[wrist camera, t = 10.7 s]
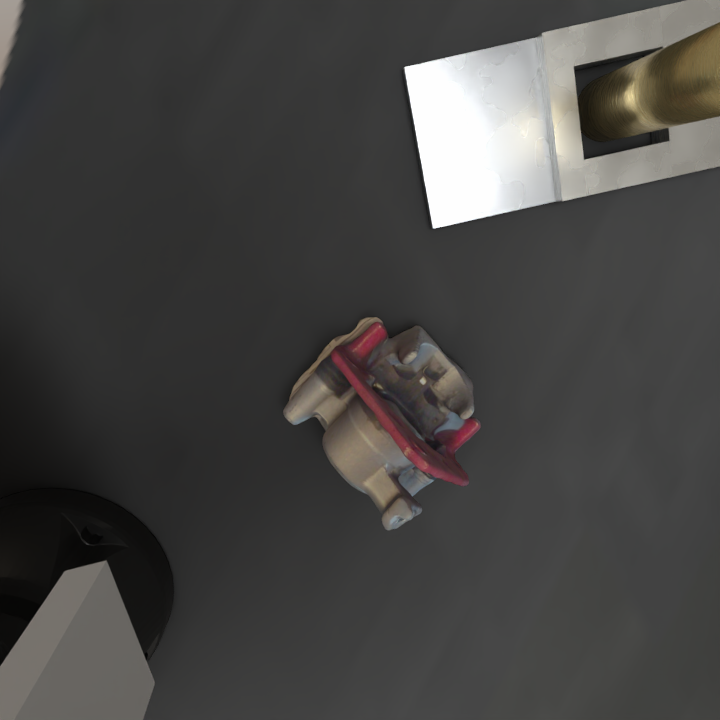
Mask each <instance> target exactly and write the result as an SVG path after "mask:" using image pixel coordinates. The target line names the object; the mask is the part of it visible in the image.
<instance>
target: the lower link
mask: <svg viewBox="0 0 720 720" xmlns="http://www.w3.org/2000/svg"><path fill="white" fill-rule="evenodd" d="M652 53H653V51H650V52H646V53H641V54H637V55H632V56H628V57H623V58H619V59H614V60H610V61H606V62H601V63H597V64H592V65H588V66H583V67H579V68H574V71H575V70H580V69H584V68H589V67H593V66H597V65H602V64H606V63H611V62H615V61H620V60H624V59H629V58H633V57H638V56H642V55H644V57H645V56H647V55H650V54H652ZM402 73H403V78H404V84H405V89H406V95H407V101H408V106H409V112H410V117H411V123H412V128H413V134H414V139H415V145H416V151H417V156H418V162H419V167H420V173H421V178H422V184H423V189H424V195H425V201H426V206H427V212H428V217H429V223H430V228H433V229H434V228H438V227H443V226H447V225H452V224H456V223H461V222H465V221H470V220H474V219H479V218H483V217H488V216H492V215H497V214H501V213H506V212H510V211H515V210H519V209H524V208H528V207H533V206H537V205H542V204H546V203H550V202H555V201H556V196H555V188H554V180H553V172H552V164H551V155H550V147H549V139H548V131H547V123H546V115H545V107H544V99H543V91H542V83H541V75H540V67H539V59H538V51H537V43H536V38H533V39H528V40H524V41H519V42H515V43H510V44H506V45H501V46H497V47H492V48H488V49H484V50H479V51H475V52H470V53H466V54H461V55H457V56H452V57H448V58H443V59H439V60H435V61H430V62H426V63H421V64H417V65H412V66H408V67H404V69H403V71H402ZM656 143H660V132H659V130H656V131H652V132H651V144H650V145H652V144H656ZM646 146H647V145H646ZM641 147H643V146H641ZM637 148H638V147H637ZM632 149H634V148H632ZM628 150H629V149H628ZM623 151H625V150H623ZM619 152H620V151H619ZM614 153H616V152H614ZM610 154H611V153H610ZM605 155H607V154H605ZM601 156H602V155H601ZM596 157H598V156H596ZM592 158H594V157H592ZM587 159H589V158H587ZM584 160H585V159H584Z"/></svg>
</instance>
